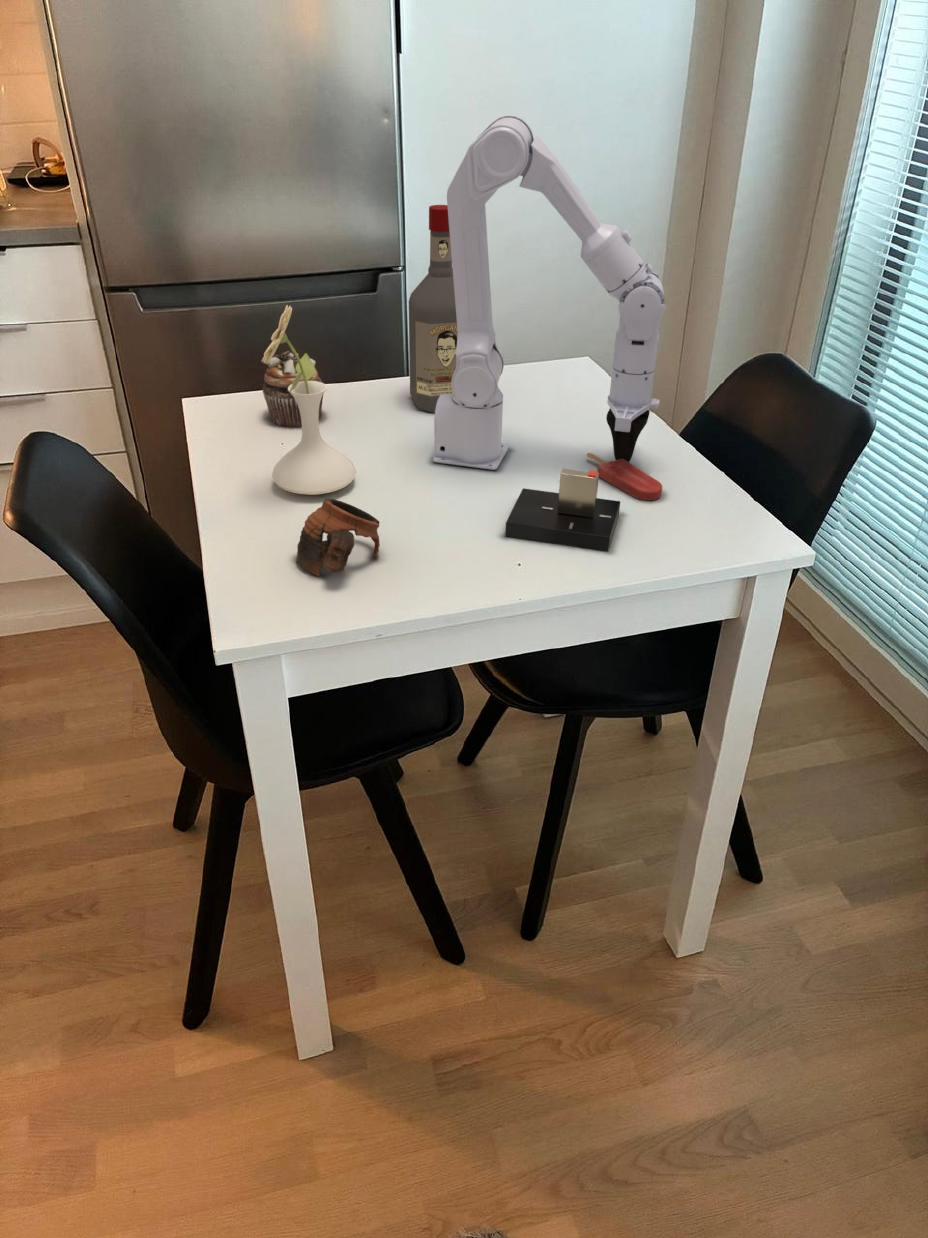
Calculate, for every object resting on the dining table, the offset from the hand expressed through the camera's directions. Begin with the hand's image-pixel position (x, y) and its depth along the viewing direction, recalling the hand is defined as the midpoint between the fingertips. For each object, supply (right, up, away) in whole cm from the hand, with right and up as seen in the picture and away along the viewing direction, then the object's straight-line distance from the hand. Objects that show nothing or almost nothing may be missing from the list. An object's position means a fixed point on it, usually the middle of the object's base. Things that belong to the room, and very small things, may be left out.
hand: (622, 460), depth 136 cm
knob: (-9, -9, -16) cm, 20 cm away
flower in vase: (-43, -5, -6) cm, 44 cm away
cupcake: (-49, +9, +14) cm, 52 cm away
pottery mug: (-38, -16, -23) cm, 47 cm away
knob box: (-10, -11, -14) cm, 20 cm away
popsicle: (-1, -3, -2) cm, 4 cm away
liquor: (-27, +13, +20) cm, 36 cm away
